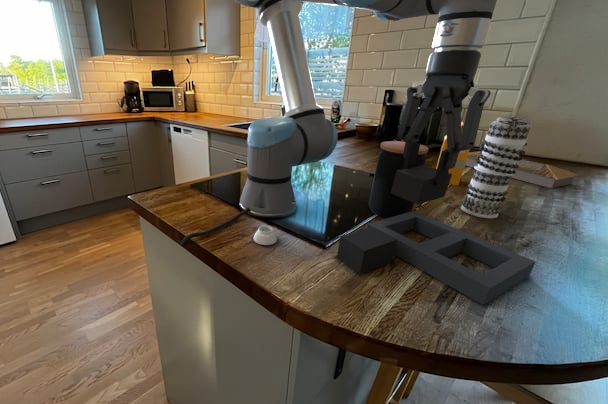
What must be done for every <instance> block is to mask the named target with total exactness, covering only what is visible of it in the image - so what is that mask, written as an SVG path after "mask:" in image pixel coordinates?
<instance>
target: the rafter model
mask: <svg viewBox="0 0 608 404" xmlns="http://www.w3.org/2000/svg"><path fill="white" fill-rule="evenodd" d="M480 151H481V150H479V151H471V152H470V151H469V154H468V157H467V160H466V164H465V167H470V168H474V167H475V166H476V164H478V163H477V162H476V159H477V158H478V155H477V154H478V153H479V152H480ZM516 163H517V165H518V166H519V167H518V168H516V169H513V170H514V171H516V173H515V174H514V175H512V176H511V179H515V180H519V181H523V182H527V183H530V184H533V185H534V184H535V185H537V186H542V187H545V188H548V189H554V188H558V187H564V186H568V185H571V184H572V182H573V180H574V178H575V177H578V176H580V175H581V174H578V173H576V172H571V171H569V170H566V169H563V168H560V167H557V166H554V165H551V164H548V163H545V164H543V163H542V162H540V163H539V162H537V161H535V162H534V161H533V160H531V161H530V160H529V159H524V158H523V159H522V160H520V161H517V162H516ZM474 169H475V168H474Z"/></svg>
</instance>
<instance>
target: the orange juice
mask: <svg viewBox="0 0 608 404" xmlns="http://www.w3.org/2000/svg"><path fill="white" fill-rule="evenodd" d="M463 126H464V121H461V130H463ZM443 138H444V139H443V143H442V145H441V149H440V152H439V153H440V154H439V157H438V160H437V164H436V168H435V169H437V167H438V164H439V160H440V157H441V153H442V151H444V150H445V149H447V134H446V135H444V137H443ZM470 151H471V149H468V150H462V151H460V152H459V155H458V158H457V162H456V165H455V167H454V168H452V169H449V172H448V173H451V174H452V176H451V179H450V182H449V185H452V186H459V184H460V182H461V178H462V175H463V172H464V169H465V167H466V165H465V164H466V160H467V157H468V154H469V153H470Z"/></svg>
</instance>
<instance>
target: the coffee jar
mask: <svg viewBox="0 0 608 404" xmlns="http://www.w3.org/2000/svg"><path fill="white" fill-rule="evenodd" d="M404 147H405V141H397V140H390V141H382V142H381V143H380V148H381V150H380V151H379V152H378V155H377V161H376V164H375V165H376V166H375V170H374V175H373V181H372V184H371V185H372V186H371V190H370V196H369V200H368V207H369V210H370V212H372V213H373V214H374V215H376V216H379V217H381V218H384V219H387V218H391V217H394V216H397V215H401V214H404V213H408V212H411V211H413V209H414V205H415V203H412V202H410V201H408V200H405V199H403V198H401V197H398V196H396V195H394V194H392V193H391V190H392V186H393V182H394V178H395V175H396V171H397V170H402V169H403V166H404V162H405V158H403V152H404ZM428 152H429V147H428V146H426V145H423V144H420V148H419V152H418V156H417V160H416V164H415V167H418V166H423V165H425V166H426V160H427V158H426V154H427V153H428Z"/></svg>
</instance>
